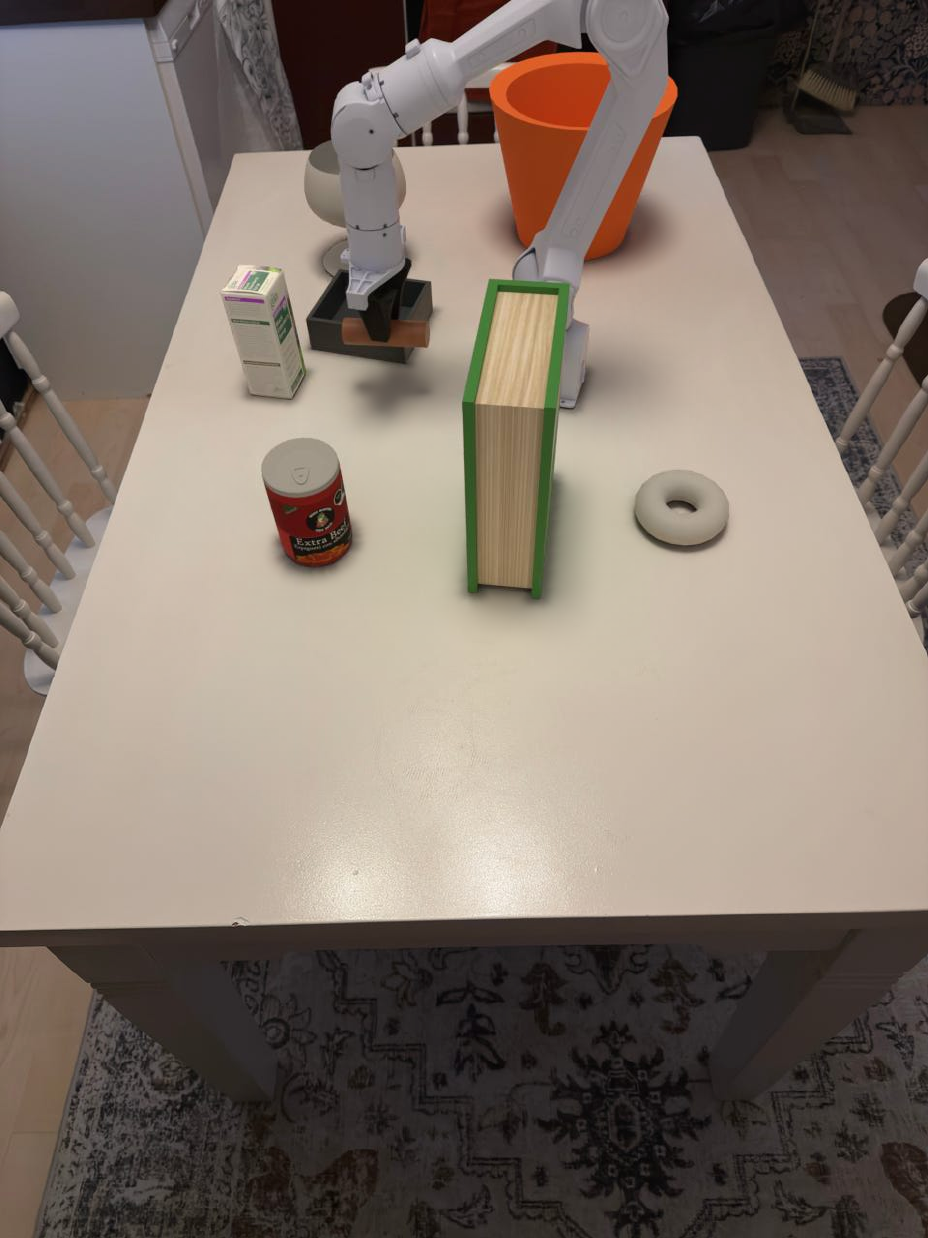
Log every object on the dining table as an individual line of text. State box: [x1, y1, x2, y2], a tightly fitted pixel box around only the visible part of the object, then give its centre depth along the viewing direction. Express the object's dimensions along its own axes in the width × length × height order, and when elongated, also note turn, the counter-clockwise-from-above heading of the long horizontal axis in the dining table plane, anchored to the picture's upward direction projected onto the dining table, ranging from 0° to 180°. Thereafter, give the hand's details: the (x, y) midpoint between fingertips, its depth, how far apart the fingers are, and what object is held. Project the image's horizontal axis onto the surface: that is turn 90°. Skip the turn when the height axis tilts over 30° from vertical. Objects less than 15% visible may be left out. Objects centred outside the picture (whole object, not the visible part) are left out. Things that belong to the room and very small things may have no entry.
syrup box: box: [220, 264, 307, 400], centre depth 101 cm, size 6×6×14 cm
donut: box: [634, 469, 730, 546], centre depth 89 cm, size 10×4×10 cm
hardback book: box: [461, 278, 570, 600], centre depth 80 cm, size 18×7×24 cm, turn 172°
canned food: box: [260, 437, 353, 567], centre depth 85 cm, size 8×8×11 cm
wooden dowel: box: [342, 318, 431, 349], centre depth 99 cm, size 10×3×3 cm
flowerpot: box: [488, 51, 678, 261], centre depth 119 cm, size 25×25×20 cm
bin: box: [305, 269, 434, 364], centre depth 111 cm, size 13×12×4 cm
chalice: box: [303, 139, 407, 277], centre depth 117 cm, size 14×14×15 cm
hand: (384, 330), depth 98 cm, fingers closed on wooden dowel, 3 cm apart
